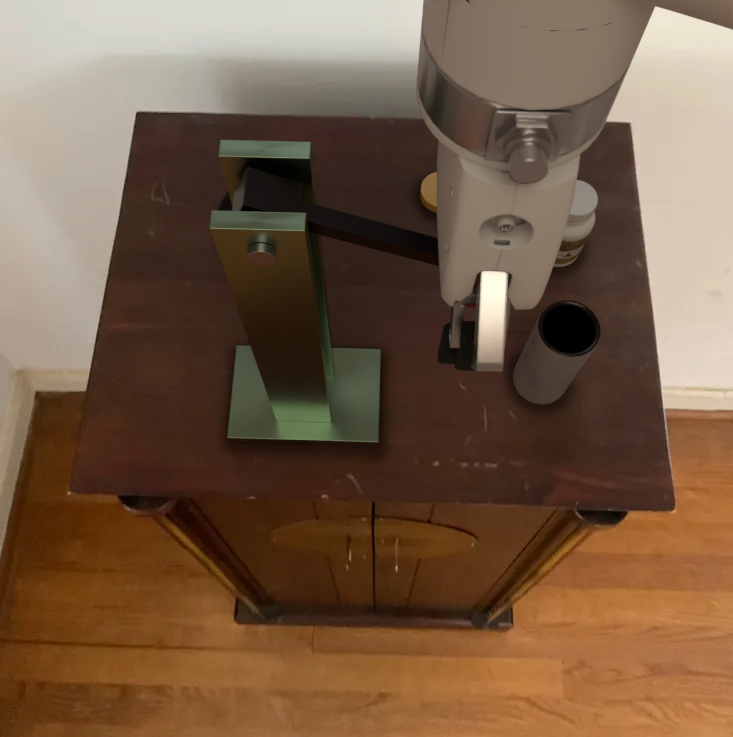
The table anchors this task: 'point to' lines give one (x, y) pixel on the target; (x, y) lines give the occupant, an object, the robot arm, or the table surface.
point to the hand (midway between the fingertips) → (464, 284)
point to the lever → (331, 218)
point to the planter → (556, 351)
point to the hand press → (288, 318)
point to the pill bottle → (578, 224)
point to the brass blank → (429, 192)
